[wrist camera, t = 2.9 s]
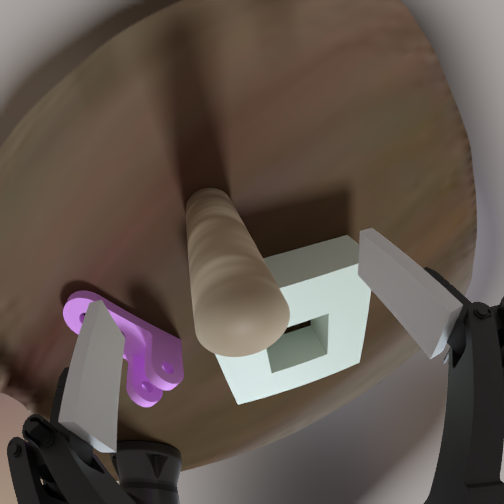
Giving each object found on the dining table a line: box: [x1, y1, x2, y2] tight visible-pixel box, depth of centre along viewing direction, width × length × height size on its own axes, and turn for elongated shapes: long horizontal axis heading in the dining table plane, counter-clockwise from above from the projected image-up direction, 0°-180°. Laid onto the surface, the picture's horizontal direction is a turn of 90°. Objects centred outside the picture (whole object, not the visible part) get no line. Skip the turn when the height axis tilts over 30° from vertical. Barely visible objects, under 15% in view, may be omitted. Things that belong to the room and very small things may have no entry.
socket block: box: [215, 235, 371, 405], centre depth 29 cm, size 16×16×5 cm
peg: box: [186, 187, 290, 357], centre depth 17 cm, size 4×4×14 cm
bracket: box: [63, 291, 184, 407], centre depth 24 cm, size 13×6×7 cm, turn 46°
